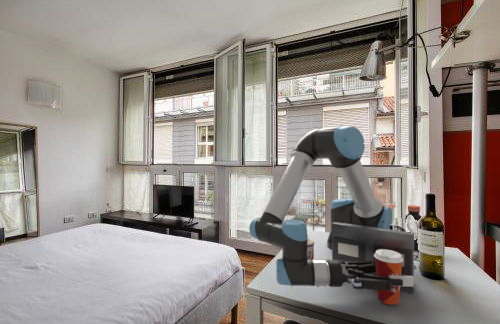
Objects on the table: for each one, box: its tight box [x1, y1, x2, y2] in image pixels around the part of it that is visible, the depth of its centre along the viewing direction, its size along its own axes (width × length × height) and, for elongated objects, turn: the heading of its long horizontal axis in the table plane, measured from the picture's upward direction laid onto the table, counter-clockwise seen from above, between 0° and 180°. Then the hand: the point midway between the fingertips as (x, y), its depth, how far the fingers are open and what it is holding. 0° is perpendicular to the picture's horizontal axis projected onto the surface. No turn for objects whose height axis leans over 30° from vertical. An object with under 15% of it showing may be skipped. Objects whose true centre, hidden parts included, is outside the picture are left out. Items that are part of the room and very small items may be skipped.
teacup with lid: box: [307, 237, 315, 260], centre depth 104 cm, size 12×9×12 cm
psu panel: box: [331, 222, 415, 294], centre depth 90 cm, size 8×26×18 cm, turn 56°
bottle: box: [404, 204, 422, 252], centre depth 119 cm, size 7×7×20 cm
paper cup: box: [374, 249, 403, 306], centre depth 76 cm, size 8×8×14 cm
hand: (405, 275), depth 75 cm, fingers closed on paper cup, 7 cm apart
